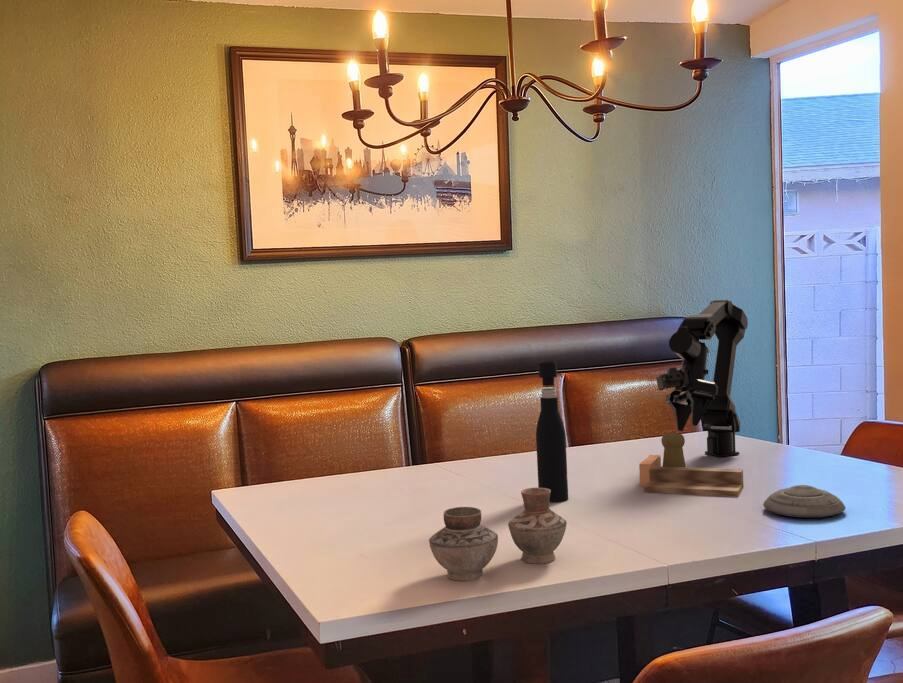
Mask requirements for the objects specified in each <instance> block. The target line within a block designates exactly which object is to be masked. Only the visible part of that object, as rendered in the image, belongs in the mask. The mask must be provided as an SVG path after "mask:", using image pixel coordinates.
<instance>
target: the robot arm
mask: <svg viewBox="0 0 903 683" xmlns="http://www.w3.org/2000/svg"><path fill="white" fill-rule="evenodd" d="M748 322H749V321H748V317H747V315H746V314H745V311H744V310H743V308H740V307H738V306H736V305H734V303H733V302H732V300H728V299H716V300H715V299H714V300H713V301H710V302H709V305H708V306H706V307H705V308H704V309H703V310H702V311H701V312H699V313H697V314H693V315H688V316H685V317H684V318H683V319H682V321H681V323H680V325H679V326H678V328H677V329H676V330H677V331H675V332H674V333H673V334H672V335H671V336H670V339H669V341H668V345H669V349H670V350H671V351H672V352H673V353H674V354H675V355H676V356H678V357H679V358H680V359H682V360H681V368H679V369H677V367H670V368H668V369H667V372H666V373H663V374H660V375H658V376H657V377H656V378H655V380H656V384H657V389H658V391H663V390H665V389H672V388H674V389H673V390H672V391H671V392H668V393H667V394H666V395H665V402H664V403H666V404H667V406H668V407H671V410H673V412H674V417H675V422H676V428H677V431H678V432H683V431H684V429H685V428H686V425H687V423H688V420H689V418H690V416H691V425H692V426H695V427H696V426H698V425H699V423H700V422H701V429H702V432H707V437H706V450H707V451H704V454H706V455H710V456H713V457H719V458H722V457H728V456H729V457H730V456H737V455H740V452H739V451H737V450H736V433H740V432H741V421H740V420H741V419H740V418H739V416H738V414H737V411H736V405H735V404H734V401H733V399H732V397H731V392H732V385H733V376H734V369H735V360H736V352H737V346H738V345H739V343H740V342H741V341H742V340H743V339H744V337H745V333H746V330H747V329H748V325H749V323H748ZM714 335H715V337H716V338H717V340H718V345H717V349H716V350H717V351H716V358H715V366H714V372H713V381H710V380H705V378H706V376H707V375H709V369H707V360H708V354H709V353H710V349H709V347H708V346H707V344H706V343H705V342H701V341H703V340H705V341H707V340H708V341H709V340H711V339H712V338H713V336H714ZM700 340H701V341H700Z"/></svg>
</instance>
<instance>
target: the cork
mask: <svg viewBox="0 0 903 683" xmlns="http://www.w3.org/2000/svg"><path fill="white" fill-rule="evenodd" d="M685 441H686V440H685V436H684V435H683V434H682V433H678V432H668V433H667V432H666V433H665V434H663V435H662V436H661V446H662V447H663V455H662V456H663V459H662V466H663V467H687V466H686V461H685V454H684V449H683V447H684V446H685V443H686V442H685Z"/></svg>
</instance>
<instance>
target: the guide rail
mask: <svg viewBox="0 0 903 683" xmlns="http://www.w3.org/2000/svg"><path fill="white" fill-rule="evenodd" d="M661 461H662V457H661V455H660V454H659V455H658V454H656V455H655V454H649V455H648V456H647V457H645V459H644V460H642V461H641V462H639V464H638V465H639V467H638V468H639V470H638V471H639V486H640V487H643V493H651V494H652V493H654V494H655V493H656V494H676V495H695V496H716V497H720V496H721V497H738V498H739V496H740V494H741V492H742V490H743V489H744V485H745V484H744V469H741V468H717V467H715V468H714V467H691V466H690V467H689V466H688V467H687V466H686V467H663V465H662V462H661Z"/></svg>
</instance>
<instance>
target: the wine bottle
mask: <svg viewBox="0 0 903 683" xmlns="http://www.w3.org/2000/svg"><path fill="white" fill-rule="evenodd" d="M557 365H558V364H557V362H556V361H554V360H552V361H550V360H547V361H546V360H545V361H539V362H538V377H539V378H541V380H542V384H541V385H542V386H541V387H543V388H542V389H541V397H540V398H539V399H540V400H539V401H540V413H539V414H538V419H537V423H536V431H535V440H536V441H535V442H536V443H535V444H536V446H535V447H536V462H537V464H536V465H537V466H536V467H537V483H538V487H537V488H548V489H550V490H551V493H550V499H549V504H550V503H551V504H552V503H562V502H566V501H568V500H569V485H568V484H569V483H568V482H569V480H568V463H567V462H568V461H567V438H566V430H565V429H566V428H565V425H564V422H563V419H562V416H561V413H560V411H559V398H558V396H557V395H558V394H557V390H556V388H554V387H555V378H557V377H558V369H557V368H558V367H557Z"/></svg>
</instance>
